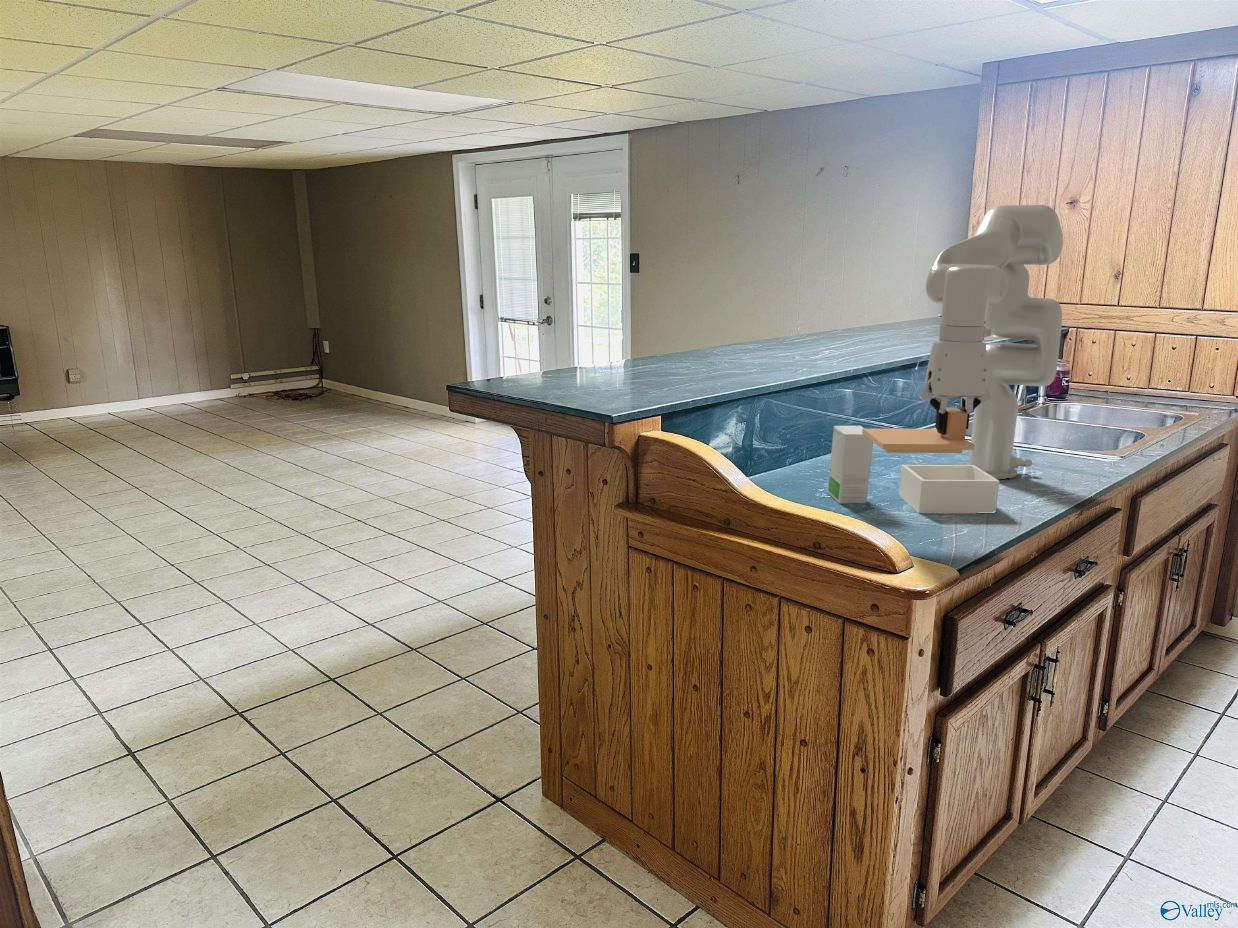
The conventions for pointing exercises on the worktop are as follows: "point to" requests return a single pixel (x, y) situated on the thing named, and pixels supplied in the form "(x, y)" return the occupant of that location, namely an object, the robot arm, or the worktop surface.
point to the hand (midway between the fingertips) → (951, 432)
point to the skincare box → (850, 465)
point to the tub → (948, 488)
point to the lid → (925, 437)
